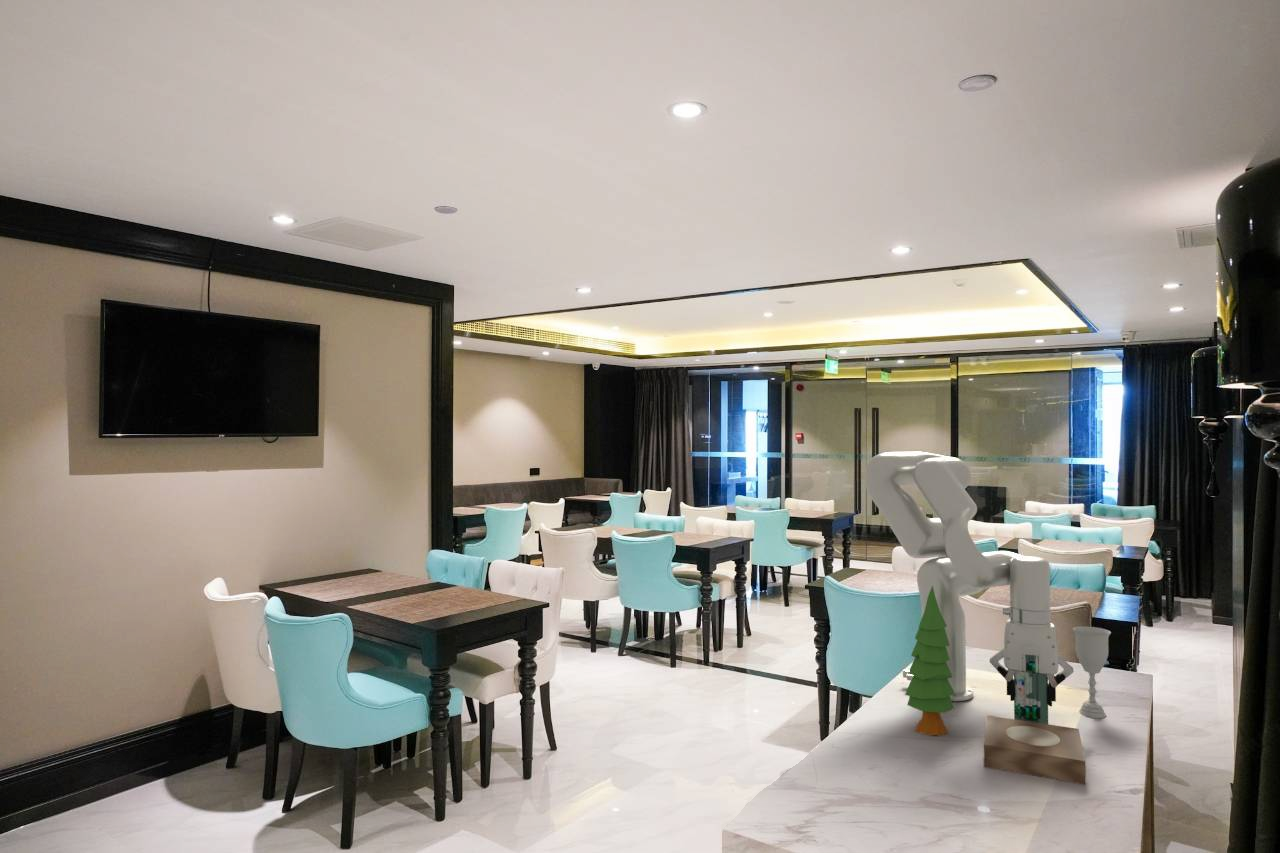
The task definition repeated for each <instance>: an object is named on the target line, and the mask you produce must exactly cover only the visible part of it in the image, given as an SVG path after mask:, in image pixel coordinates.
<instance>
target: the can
mask: <svg viewBox="0 0 1280 853" xmlns="http://www.w3.org/2000/svg"><path fill="white" fill-rule="evenodd" d="M1022 658H1023V657H1022ZM1025 658H1026V659H1025V660H1026V671H1025V672H1024V671H1021V672H1020V671H1015V674H1014V676H1013V679H1014V701H1013V706H1014V707H1013V709H1014V711H1013V716H1014V717H1013V719H1015V720H1022V721H1029V722H1035V723H1042V724H1049V705H1048V684H1049V680H1048V678H1047V676H1046V675H1045V674H1040V673H1039V656H1037V658H1038V673H1036V664H1035V662H1036V661H1035V659H1036V656H1035V655H1026V654H1025Z"/></svg>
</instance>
